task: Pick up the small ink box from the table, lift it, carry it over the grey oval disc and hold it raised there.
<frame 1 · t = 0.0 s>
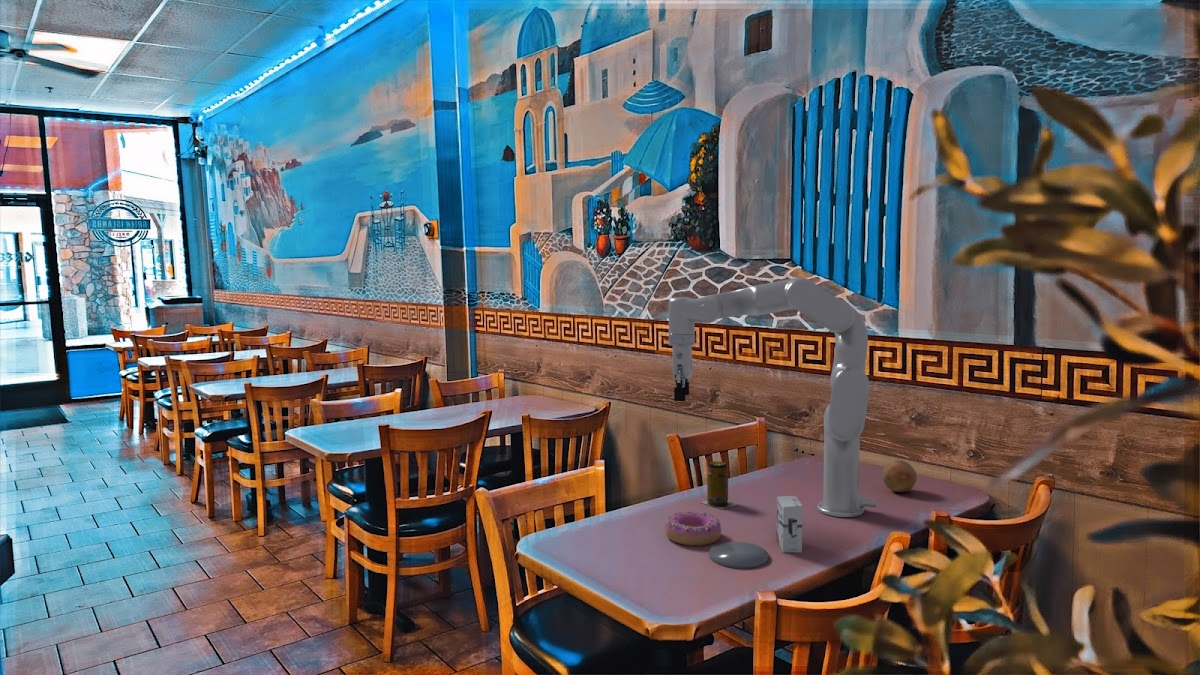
hand: (681, 397, 220), 31 cm above the table, fingers open, 9 cm apart
condiment: (719, 504, 221), on the table
grey oval disc: (738, 556, 182), on the table
donut: (693, 538, 195), on the table
onion: (899, 492, 230), on the table
ink box: (788, 547, 188), on the table
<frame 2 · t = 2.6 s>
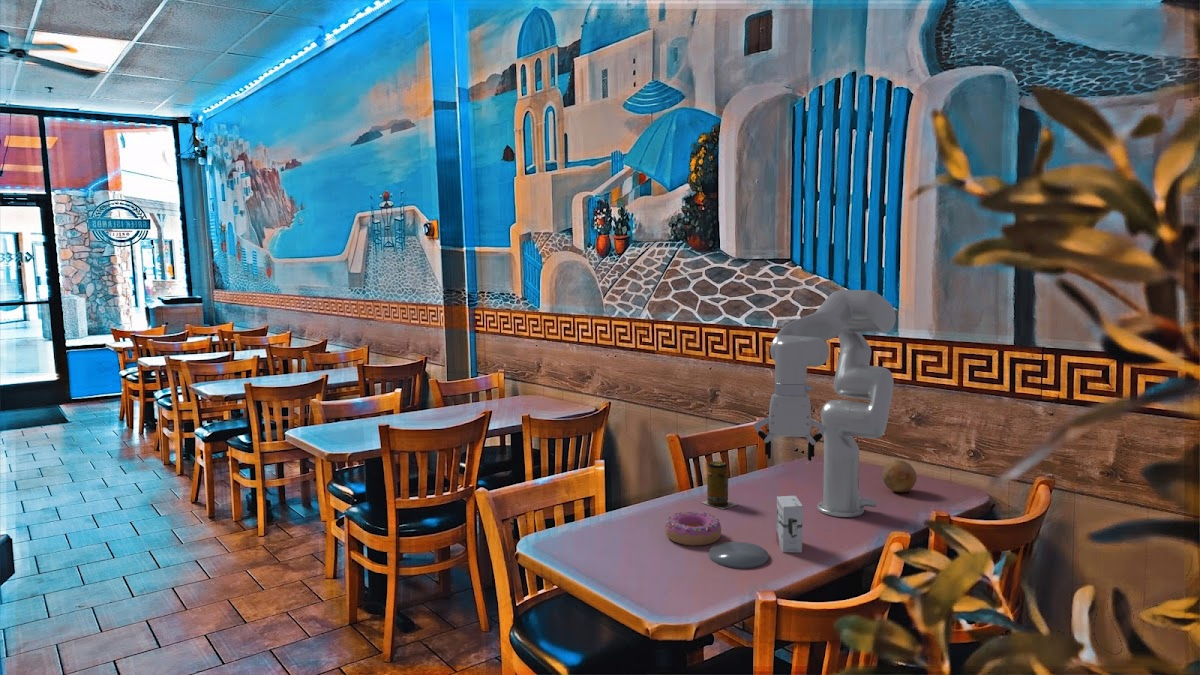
hand: (789, 458, 185), 22 cm above the table, fingers open, 9 cm apart
nothing on the table moved.
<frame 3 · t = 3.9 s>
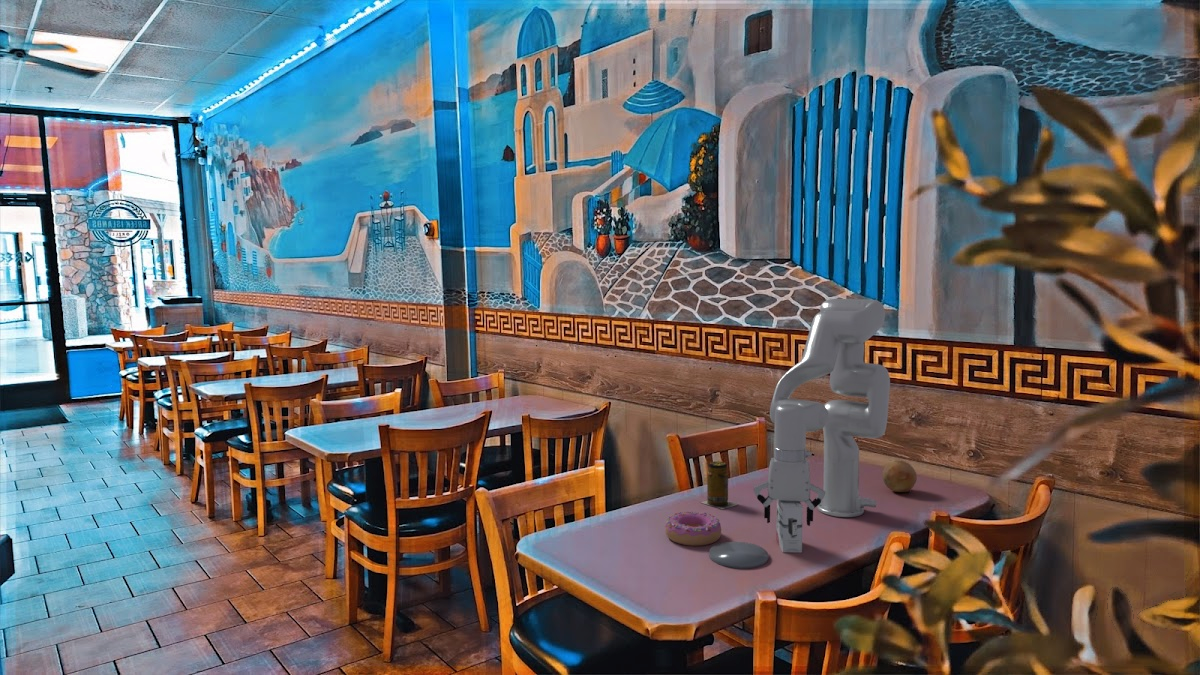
hand: (788, 522, 187), 6 cm above the table, fingers open, 9 cm apart
nothing on the table moved.
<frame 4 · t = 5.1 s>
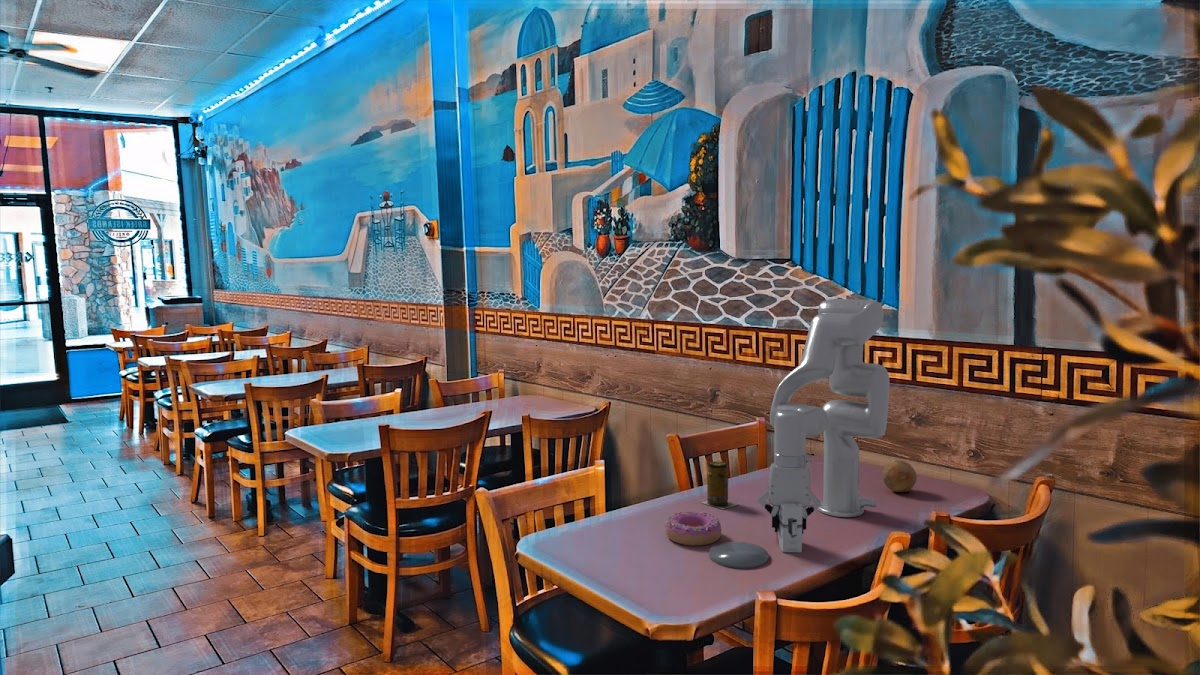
hand: (788, 530, 187), 4 cm above the table, fingers closed on ink box, 5 cm apart
ink box: (788, 547, 188), on the table, touching gripper
everything else where it was.
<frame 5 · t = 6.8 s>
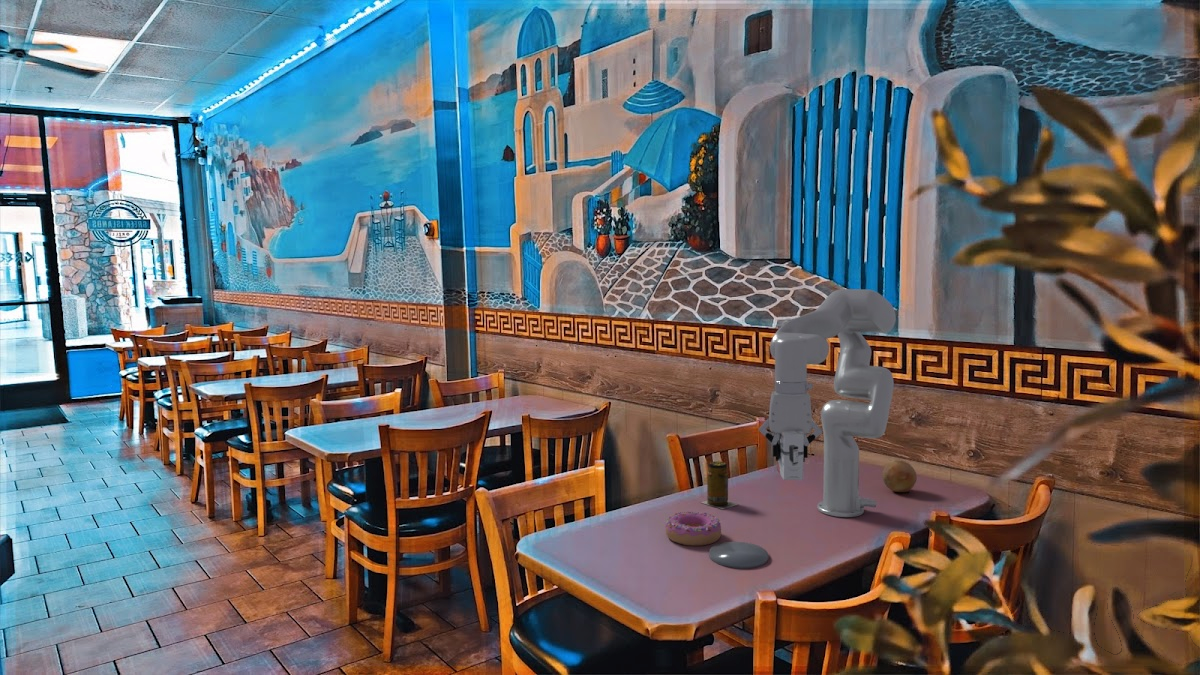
hand: (790, 459, 186), 22 cm above the table, fingers closed on ink box, 5 cm apart
ink box: (789, 476, 186), point 18 cm above the table, touching gripper
everything else where it was.
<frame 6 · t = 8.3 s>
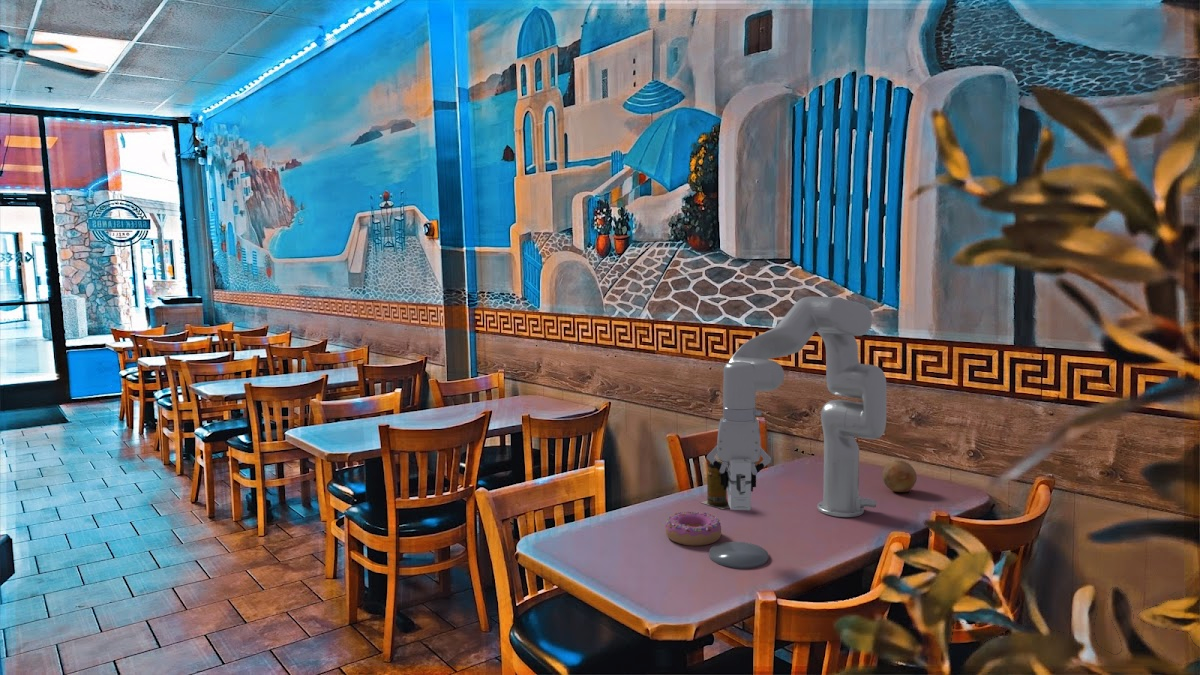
hand: (738, 488, 180), 17 cm above the table, fingers closed on ink box, 5 cm apart
ink box: (738, 505, 180), point 13 cm above the table, touching gripper
everything else where it was.
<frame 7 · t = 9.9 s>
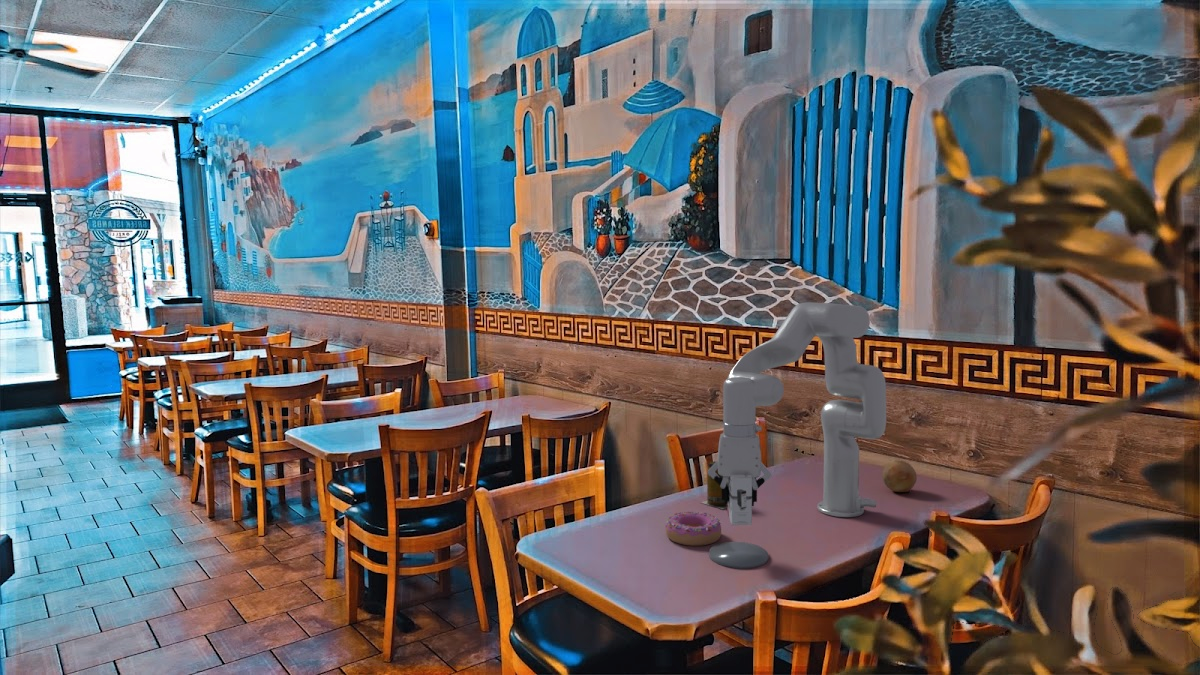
hand: (739, 503, 180), 13 cm above the table, fingers closed on ink box, 5 cm apart
ink box: (739, 520, 181), point 9 cm above the table, touching gripper
everything else where it was.
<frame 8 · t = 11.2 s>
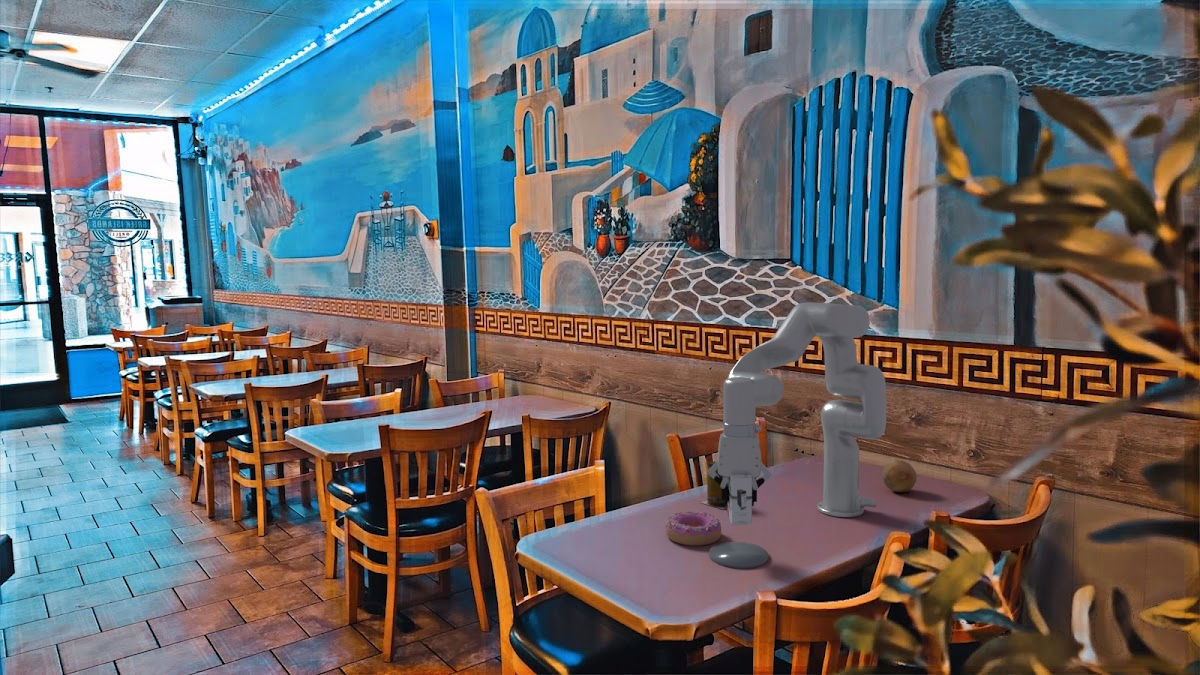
hand: (739, 503, 180), 13 cm above the table, fingers closed on ink box, 5 cm apart
ink box: (739, 520, 181), point 9 cm above the table, touching gripper
everything else where it was.
at the end: the gripper is holding ink box; ink box point 9.0 cm above the table; ink box 0.2 cm from the grey oval disc (horizontally) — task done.
